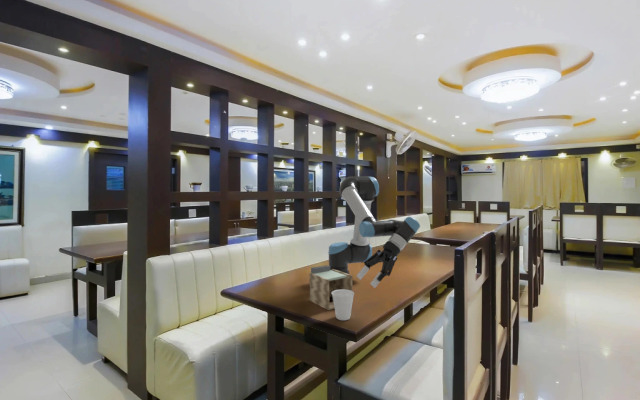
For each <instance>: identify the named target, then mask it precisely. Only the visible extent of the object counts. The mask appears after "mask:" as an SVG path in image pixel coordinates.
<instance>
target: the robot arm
mask: <svg viewBox="0 0 640 400" xmlns="http://www.w3.org/2000/svg"><path fill="white" fill-rule="evenodd" d="M338 191H339V195H340V196H341V198H342V200H344V201H345V202H346V204H347V205H348V206H349V208H350V210H351V212H352V213H353V214H354V225H353V236H352V237H353V238H351V239H350V243H348V242H345V241H340V242H338V241H337V242H334V243H331V244H330V245H329V246H328V252H327V253H328V266H330V270H332V269H335V270H338V271H341V272H344V273H347V274H350V271H349V264H359V263H364V266H363V267H362V268H361V269H360V270H359V272H358V273H357V274H356V277H357V279H359V280H360V281H361V280H362V279H363V278H364V277H365V275H366V274H367V273H368V272H369V270H370V268H371V267H373V266H375V265H377V264H378V263H382V265H381V266H382V267H381V270H380V271H379V272H378V273H377V274H376V276H375V277H374V278H373V279H372V280H371V281H370V282H369V284H370V285H371V286H372V287H373V288H374V289H375V288H376V287H378V285H379V284H380V282H382V280H383V279H384V278H385V277H390V276H391V274H392V271H393V268H394V266H395V263H396V261H397V260H398V256H399V254H400V253H401V251H403V249H404V248H405V247H406V245H408V243H409V242H410V241H411V239H412V238H414V236H415V235H416V234H417V232H418V231H419V229H420V227H421V225H420V222H419V221H418V220H417V219H415V218H414V217H412V216H406V218H404V220H398V219H388V220H376V218H375V217H374V216H373V214H372V211H371V208H372V207H371V206H372V202H374V201H375V197H377V196H378V195H379V193H380V185H379V182H378V180H377V179H376V178H375V177H374V176H368V175H367V176H347V177H346V178H344V179H343V180H342V182H341V183H340V185H339V190H338ZM378 237H389V238H388V240H387V241H386V242H385V243H384V245H383V246H382V249H383V250H382V251H381V250H380V249H378V250H377V251H376V252H375V253H374V254H373V247H372V244H370V241H369V240H368V238H378Z"/></svg>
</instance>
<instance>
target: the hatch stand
mask: <svg viewBox="0 0 640 400" xmlns="http://www.w3.org/2000/svg"><path fill="white" fill-rule="evenodd" d="M332 271H335V272H338V273H341V274H344V275H347V277H346V278H341V279H336V280H331V281H329V280H328V279H325V278H323V277H320V276H318V275H315V274H313V273H311V272H309V273H310V275H309V302H311V303H314V304H316V305H317V306H319V307H321V308H324V309H325V310H327V311H331V310H335V308H334V302H333V301H330V297H333V296H332V292H333V291H335V290H341V289H344V290H351V291H353V275H352V274H350V273H349V274H347V273H344V272H341V271H338V270H335V269H332ZM353 303H354V301H353V302H352V305H353Z"/></svg>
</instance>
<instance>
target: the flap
mask: <svg viewBox="0 0 640 400" xmlns="http://www.w3.org/2000/svg"><path fill="white" fill-rule="evenodd" d="M310 273H313V274H315V275H318V276H320V277H323V278H325V279H328V280H329V281H331V280H336V279H341V278H346V277H347V275H344V274H341V273H338V272H335V271H332V270H330V266H329V264H326V265H320V266H313V267H310V272H308V275H309V276H310Z"/></svg>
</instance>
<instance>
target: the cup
mask: <svg viewBox="0 0 640 400" xmlns="http://www.w3.org/2000/svg"><path fill="white" fill-rule="evenodd" d="M354 296H355V292H354V291H353V290H352V291H351V290H344V289H341V290H335V291H333V292H332V296H331V297H332V302H334V308H335V309H334V312H335V318H336V319H337V320H339V321H347V320H350V319H351V314H352V309H353V308H352V307H353V304H352V302H353V303H354V301H353V300H354Z"/></svg>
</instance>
